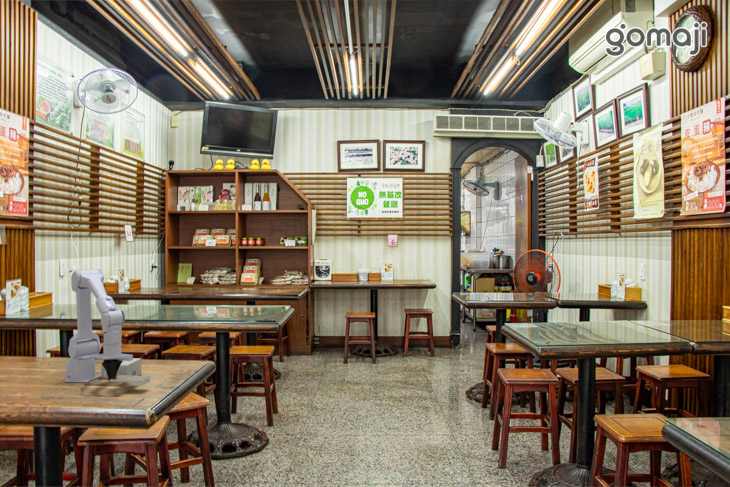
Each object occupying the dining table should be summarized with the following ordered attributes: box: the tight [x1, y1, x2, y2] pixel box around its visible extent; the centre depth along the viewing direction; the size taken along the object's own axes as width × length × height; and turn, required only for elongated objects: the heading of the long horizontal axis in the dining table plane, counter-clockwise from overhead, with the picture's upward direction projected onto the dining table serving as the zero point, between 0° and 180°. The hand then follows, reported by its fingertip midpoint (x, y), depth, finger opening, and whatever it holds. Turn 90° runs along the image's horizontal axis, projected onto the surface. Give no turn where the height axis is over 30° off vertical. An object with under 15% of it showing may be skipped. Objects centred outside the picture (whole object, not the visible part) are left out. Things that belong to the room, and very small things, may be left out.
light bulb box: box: [100, 357, 142, 377], centre depth 176 cm, size 11×7×11 cm
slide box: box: [80, 376, 138, 398], centre depth 160 cm, size 14×12×4 cm
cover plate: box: [110, 375, 151, 387], centre depth 160 cm, size 12×5×2 cm, turn 86°
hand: (112, 379), depth 160 cm, fingers closed
